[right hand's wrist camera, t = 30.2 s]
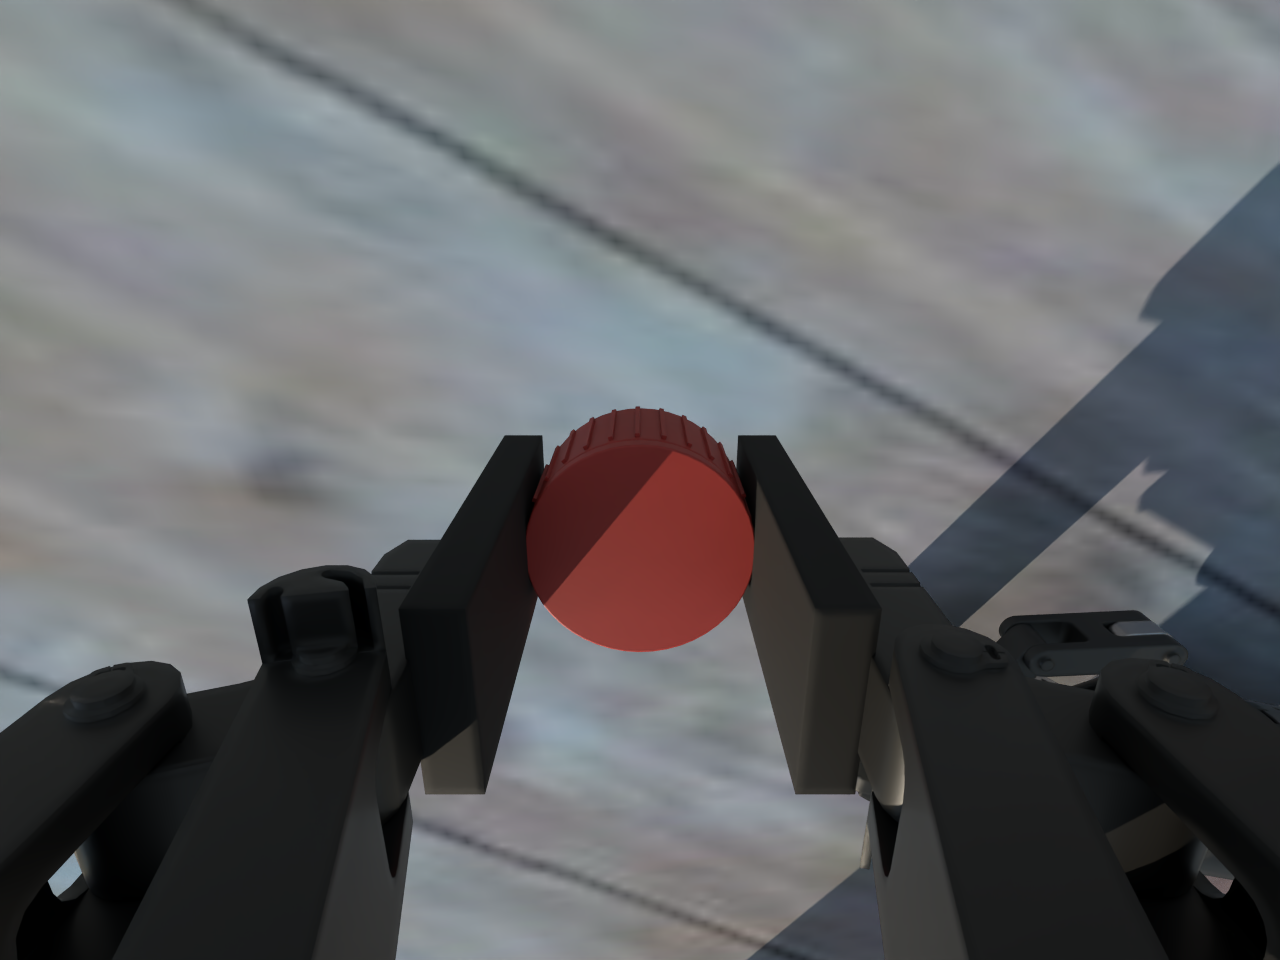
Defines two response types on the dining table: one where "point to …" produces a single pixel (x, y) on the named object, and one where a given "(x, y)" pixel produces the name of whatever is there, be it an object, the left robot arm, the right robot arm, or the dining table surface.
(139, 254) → the dining table surface
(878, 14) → the dining table surface
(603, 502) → the cap
